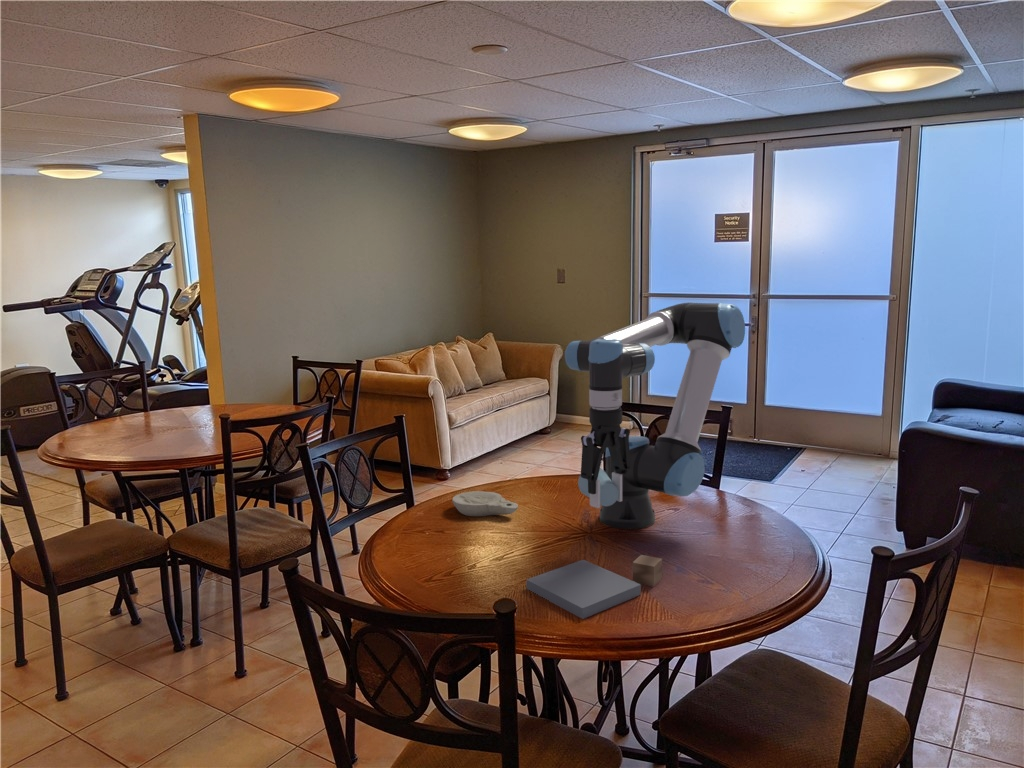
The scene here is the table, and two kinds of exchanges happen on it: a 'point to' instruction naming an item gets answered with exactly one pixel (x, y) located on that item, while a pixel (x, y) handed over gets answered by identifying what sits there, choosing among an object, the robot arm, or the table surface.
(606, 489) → the cup
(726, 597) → the table surface
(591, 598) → the plinth
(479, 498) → the oil lamp
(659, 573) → the walnut block
